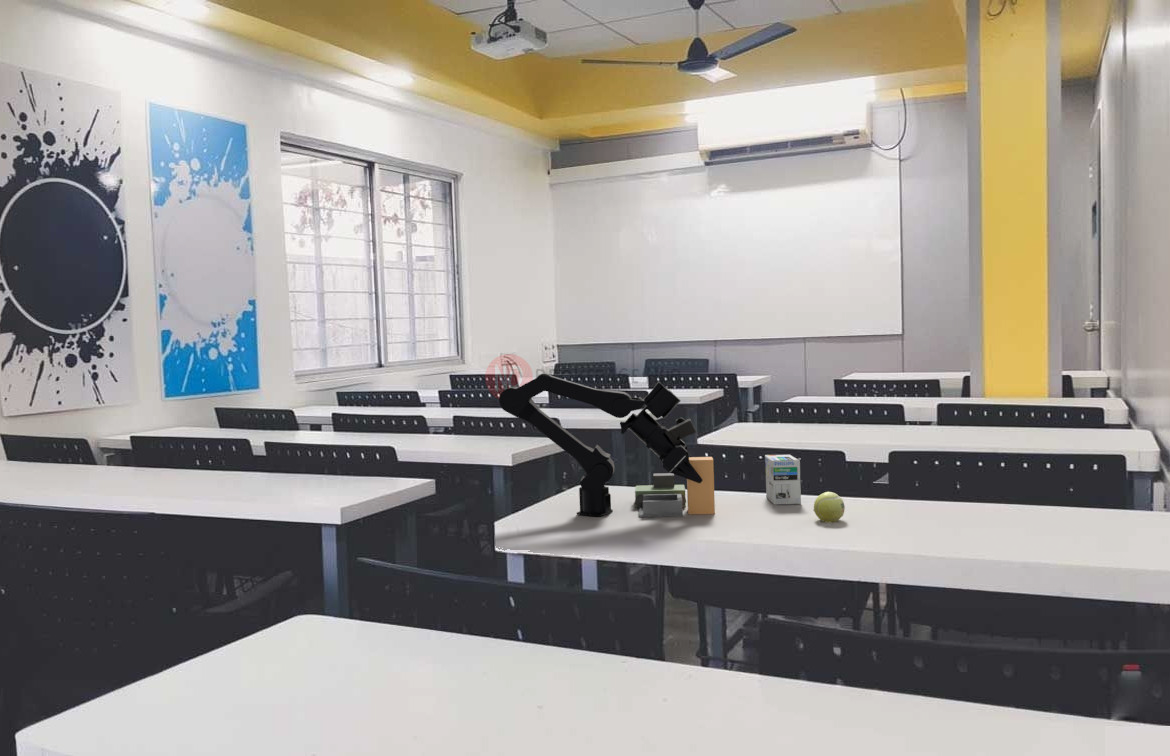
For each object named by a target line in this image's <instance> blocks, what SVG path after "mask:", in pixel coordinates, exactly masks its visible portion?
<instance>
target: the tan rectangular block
mask: <svg viewBox="0 0 1170 756" xmlns="http://www.w3.org/2000/svg"><path fill="white" fill-rule="evenodd" d="M689 462H690V464H691V465H692V466H693V467H694V469H695V470H696V471H697V473H698V474H699V475H700V477H701V478H702V479H703V481H702V482H701V483H697V482H694V481H692V480H689V479H686V492H687V494H686V495H687V499H686V500H687V513H688V515H715V514H716V508H715V507H716V505H715V503H716V502H715V474H714V473H715V471H714V470H715V469H714V458H713V456H692V457H690V456H689Z"/></svg>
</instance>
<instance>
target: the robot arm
mask: <svg viewBox="0 0 1170 756" xmlns="http://www.w3.org/2000/svg"><path fill="white" fill-rule="evenodd" d="M543 392H548V393H551V394H555V395H558V396H562V397H565V398H568V399H571V400H576V401H577V402H582V403H584V404H589V405H592V406H594V407H596V408H597V409H599V410H601V411H603V412H605V413H606V414H608V415H610V416H612V417H614V418H617V419H618V418H619V419H623V418H626V417H627V416H629V415H630V416H629V417H628V418H627V419H626V420H625V421H619V425H620V434H621V435H624V434H625V433H626V432H627V431H628V430H630V432H631V433H633V434H634V435H635V436H636V437H637V438H638V440H640V441H641V442H643V443H644V444H645V447H646V448H647V449H648V450H649V449H650V450H651V451H652V452H653V453H654V454H655V455H656V456H657V457H658V460H659V459H660V461H662V463H661V464H662V468H663V469H664V470H665V471H666V472H667V473H673V474H674V476H675V475H676V476H678V477H680V478H684V479H686V480H687V479H689V480H692V481H694V482H697V483H701V482H702V481H703V479H702V478H701V477H700V475H699V474H698V473H697V471H696V470H695V469H694V467H693V466H692V465H691V464H690V462H689V457H690V454H689V451H688V446H687V444H686V442H685V441H683V440H682V439H684V438H686V437H688V436H690V435H691V436H692V435H694V434H696V433H697V430H696V427H695V425H694V424H693V421H692V419H691V418H687V419H685V418H683V417H679V418H676V419H675V425H673V426H671V427H670V428H667V427H666V426H665V425H664V426H663V425H661V424H660V423H659V422H658V421H657V420H655V419H660V418H663V419H665V418H666V417H668V415H669V414H670V413H671V412H672V411H673V410H674V409H675V408H676V407H677V406H678V405H679V404H680V403H681V399H680V398H679V397H677V395H675V394H674V393H673V392H672V391H671V390H670V389H668V388H667V387H665V385H663V384H662V383H661V382H660V381H657V383H656V384H655V385H654V387H653V388H652V389H651V390H650V391H649V393H648V394H646V396H645V397H644V398H643V397H641V396H639V397H633V396H631V395H630V394H629V393H627V392H626V391H620V390H612V389H611V390H610V389H609V390H608V389H599V388H594V387H591V386H587V385H585V384H581V383H577V382H573V381H570V380H566V379H564V378H561V377H557V376H553V375H551V374H550V373H545V372H544V373H541V374H538V376H537V377H536V378H534V379H532V380H530V381H528V382H526V383H524V384H523V385H520V386H511V387H508V388H506V389H504V390H503V391H502V392H501V393H500V394H499V399H498V401H499V406H500V408H501V409H502V410H503V411H504V412H506V413H508V414H509V415H510V414H511V415H512V416H513V417H515V418H518V419H520V420H523V421H525V422H527V423H529V424H530V425H532V426H533V427H534V428H535V429H537V430H538V431H539V432H540V433H542V434H543V435H544V436H546V437H547V438H548V439H550V440H551V442H553V443H554V444H555V445H556V446H557V447H559V448H561V449H562V450H563V451H564V452H566V453H567V454H568V455H570V457H572V458H573V459H574V460H576V462H577V463H578V464H579V466H580V468H582V470H583V471H584V472H585V473H584V475H582V476H581V479H580V482H579V485H580V487H579V488H578V490H579V491H578V492H579V493H578V497H579V511H577V512H576V515H579V516H590V517H602V516H604V515H605V516H606V515H608V514H609V513H613V511H614V510H613V509H612V502H611V501H612V496H611V493H610V491H609V489H610V488H609V486H605V484H606V483H607V482H609V481H610V480H611V479H612V477H613V475H614V473H615V462H614V461H613V460H614V459H612V458H611V453H607V452H606V451H604V449H602V447H601V446H599V445H598V444H596V446H595V447H594V448H592V447H590V446H588V445H586V444H584V443H583V442H582V441H581V440H579V439H578V438H577V437H576V436H575V435H573V434H572V433H570V432H569V431H568V430H566V429H565V428H564V426H561V425H560V424H559V423H558V422H556V421H555V420H554V419H553V418H552V417H550V416H549V415H547V414H546V413H545V412H544V411H543V410H542V409H541V408H539V406H538V405H537V403H536V402H534V400H533V398H534V397H536V396H538V395H540V394H541V393H543ZM644 405H645V406H644ZM642 407H644V408H642ZM640 409H641V410H640ZM638 410H640V411H639V413H638V414H636V413H634V412H635V411H638ZM633 411H634V412H633ZM647 411H648V412H650V413H651V415H653V416H654V417H655V418H653V417H652V416H651V415H650V414H649V413H648V412H647ZM631 412H633V413H631ZM630 413H631V414H630Z"/></svg>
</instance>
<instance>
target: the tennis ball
mask: <svg viewBox="0 0 1170 756" xmlns="http://www.w3.org/2000/svg"><path fill="white" fill-rule="evenodd" d="M845 510H846V507H845V503H844V499H843V498H842V497H841V496H839V495H838V494H837V493H835V492H832V491H825V492H823V493H821V494H819V495H818V496H817V497H816V499H815V500H814V503H813V512H814V514H815V515H816V517H817V518H818V519H819V520H821V521H822V522H825V523H835V522H839V520H840V519H841V518H842V517H844V514H845Z"/></svg>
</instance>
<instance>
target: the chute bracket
mask: <svg viewBox="0 0 1170 756" xmlns="http://www.w3.org/2000/svg"><path fill="white" fill-rule="evenodd" d="M683 508H684V507H683V505H682V496H681V494H647V495H643V507H639V508H638V509H639V510H638V511H639V512H638V518H674V517H675V518H677V517H684V514H683V513H684V510H683Z"/></svg>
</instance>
